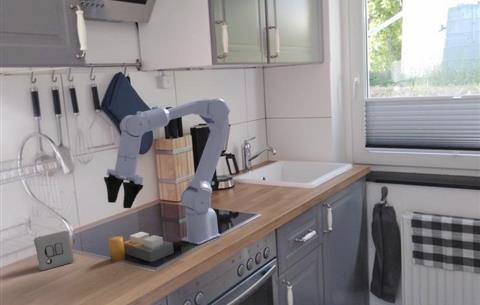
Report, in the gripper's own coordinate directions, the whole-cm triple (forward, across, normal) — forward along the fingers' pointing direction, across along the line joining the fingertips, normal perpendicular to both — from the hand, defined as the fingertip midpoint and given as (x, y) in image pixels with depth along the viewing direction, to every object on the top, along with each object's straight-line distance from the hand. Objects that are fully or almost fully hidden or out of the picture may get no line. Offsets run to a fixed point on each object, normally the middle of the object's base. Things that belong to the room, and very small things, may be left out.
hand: (119, 205), depth 128 cm
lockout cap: (+16, 0, +3) cm, 16 cm away
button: (+11, +6, +10) cm, 16 cm away
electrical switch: (+20, -13, -8) cm, 26 cm away
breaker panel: (+13, +3, +10) cm, 17 cm away
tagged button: (+12, 0, +10) cm, 15 cm away
